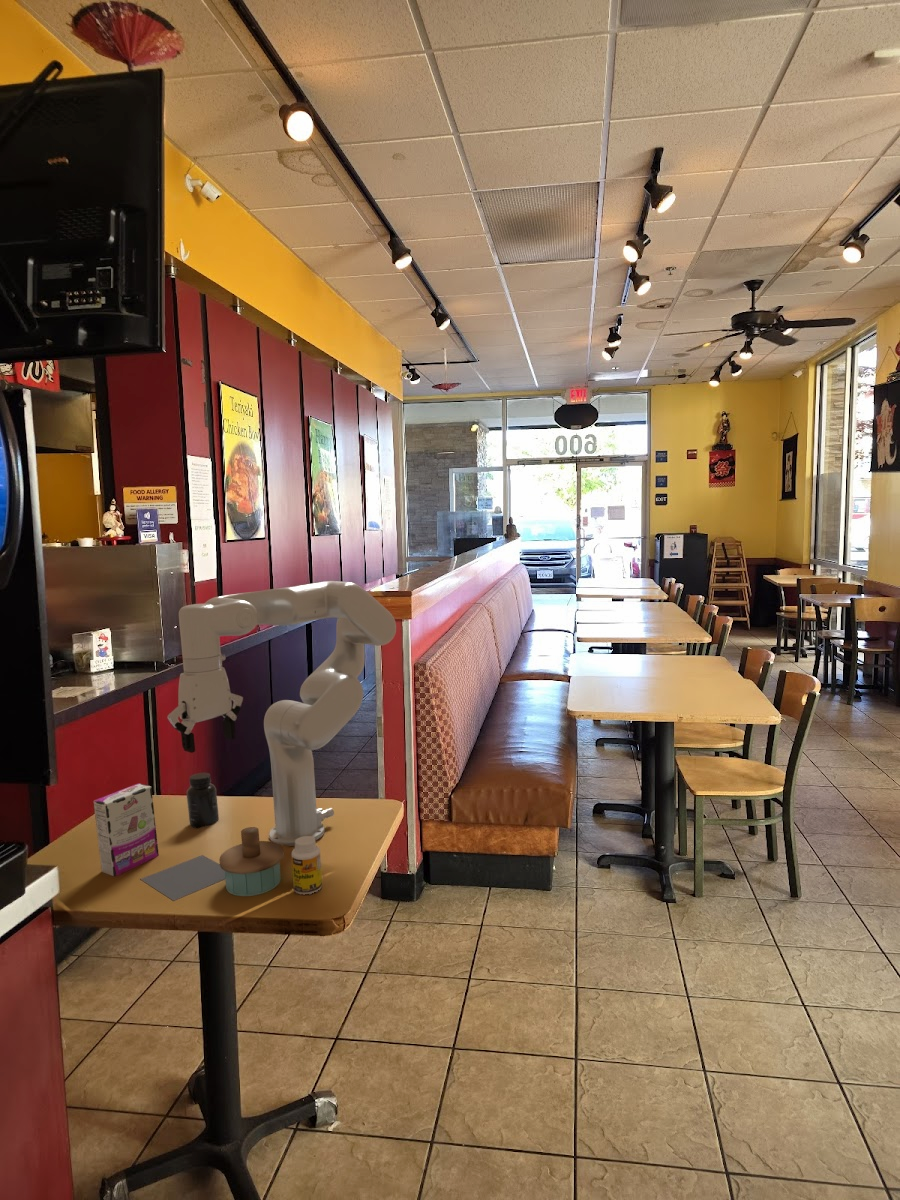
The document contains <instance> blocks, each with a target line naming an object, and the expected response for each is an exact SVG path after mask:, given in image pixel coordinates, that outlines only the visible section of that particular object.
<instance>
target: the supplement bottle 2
mask: <svg viewBox="0 0 900 1200" xmlns="http://www.w3.org/2000/svg"><path fill="white" fill-rule="evenodd" d="M321 864H322V862H321V849H320V847H319V846H317V844H316V840H315V838H314V837H312V836H303V837H300V838H297V839H296V840H295V846H294V848H293V849H292V851H291V867H292V869H291V871H292V881H293V882H292V883H293V885H292V887H293V891H294V892H295V893H296V894H298V895H301V894H303V896H304V895H305V894H309V895H312V893H313V894H315V893H314V892H316V893H317V892H319V891H320V890H321V889H322V887H323V886H322V885H323V882H322V880H323V879H322V876H323V875H322V865H321ZM318 890H319V891H318ZM305 896H306V895H305Z"/></svg>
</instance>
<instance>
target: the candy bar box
mask: <svg viewBox="0 0 900 1200" xmlns="http://www.w3.org/2000/svg"><path fill="white" fill-rule="evenodd" d="M153 798H154V797H153V790H152V786H150V785H147V784H143V783H136V784H133V785H131V786H128V787H126V788H123V789H120V790H117V791H116V792H115V791H114V792H113V793H111V794H107V795H105V796H102V797H100V798H97V799H94V800H93V810H94V818H95V819H94V820H95V826H96V827H95V828H96V834H97V845H98V851H99V859H100V860H99V861H100V866H101V867H100V869H101V872H102V873H105V874H107V875H110V876H112V877H117V876H119V875H121V874H123V873H125V872H127V871H130V870H131V869H134V868H136V867H138V866H140V865H142V864H144V863H146V862H148V861H151V860H153V859H155V858H156V857H159V856H160V853H159V846H158V845H159V844H158V836H157V825H156V817H155V809H154V800H153Z"/></svg>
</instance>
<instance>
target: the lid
mask: <svg viewBox="0 0 900 1200" xmlns="http://www.w3.org/2000/svg"><path fill="white" fill-rule="evenodd" d="M259 831H260V830H259V828H258V827H256V826H249V827H245V828H243V829H242V830H241V831H240V836H241V844H239V843H238V844H237V845H234V846H231V847H230V848H228V849H226V850H225V851H224V852H222V853H221V855H220V856H219V864H220V867H221V868H222V869H223V870H224V871H226V872H229V873H235V874H248V873H255V872H260V871H263V870H266V869H269V868H271V867H273V866H275V865H277V864H278V863H279V862H282V860H283V859H284V855H285V853H284V848H283V845H282V844H277V843H274V842H273V841H268V840H267V841H266V840H260V832H259Z"/></svg>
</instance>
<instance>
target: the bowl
mask: <svg viewBox="0 0 900 1200" xmlns="http://www.w3.org/2000/svg"><path fill="white" fill-rule="evenodd" d="M280 862H281V861H280ZM280 862H279V863H278V864H277V865H275V866H273V867H271V868H269V869H266V870H263V871H260V872H255V873H248V874H235V873H229V872H226V871H225V880H224V881H225V889H226V890H227V892H228V893H229V894H231V895H234V896H238V897H251V896H259V895H262V894H265V893H267V892H269V891H271V890H274V888H276V887H277V886H279V884H280V882H281V880H282V878H281V877H282V876H281V863H280Z"/></svg>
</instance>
